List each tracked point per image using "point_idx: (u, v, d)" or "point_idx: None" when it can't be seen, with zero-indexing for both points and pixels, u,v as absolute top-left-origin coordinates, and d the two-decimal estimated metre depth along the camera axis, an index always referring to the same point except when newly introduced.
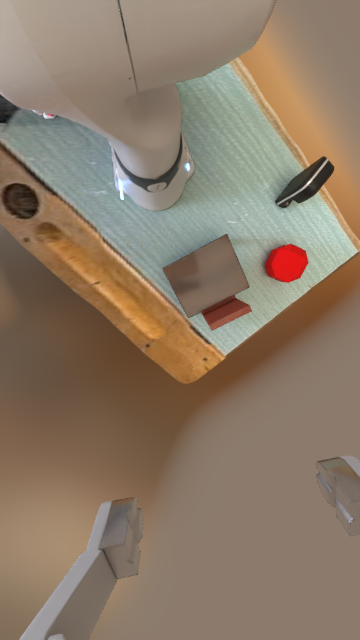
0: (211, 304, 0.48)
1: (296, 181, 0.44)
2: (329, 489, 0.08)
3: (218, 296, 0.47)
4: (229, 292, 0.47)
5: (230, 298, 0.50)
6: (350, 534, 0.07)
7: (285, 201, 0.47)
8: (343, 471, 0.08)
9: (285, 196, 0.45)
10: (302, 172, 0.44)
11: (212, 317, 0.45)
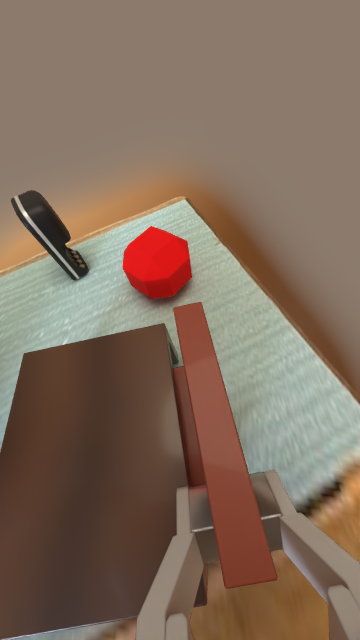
0: (177, 452, 0.13)
1: None
2: None
3: (158, 417, 0.14)
4: (158, 378, 0.15)
5: (186, 379, 0.17)
6: None
7: (69, 262, 0.30)
8: (261, 487, 0.08)
9: (56, 259, 0.29)
10: None
11: None
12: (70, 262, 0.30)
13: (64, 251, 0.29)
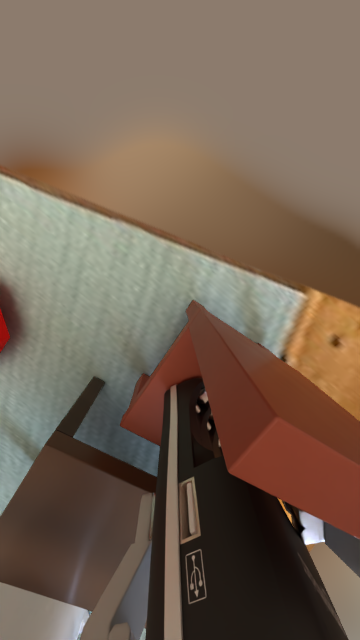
0: None
1: None
2: None
3: None
4: (107, 487, 0.13)
5: None
6: None
7: None
8: None
9: None
10: None
11: None
12: None
13: None
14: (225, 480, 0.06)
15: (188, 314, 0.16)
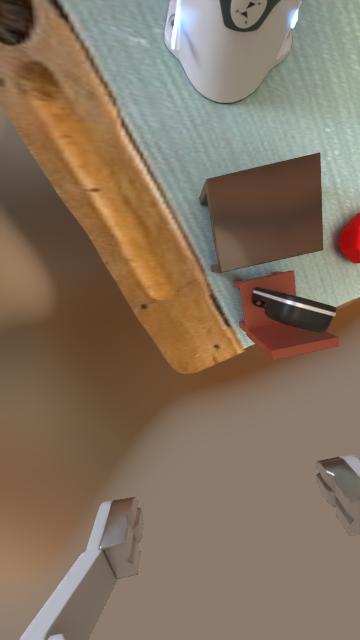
0: (260, 260, 0.31)
1: None
2: (330, 490, 0.08)
3: (274, 251, 0.31)
4: (292, 249, 0.31)
5: None
6: (350, 534, 0.07)
7: (260, 296, 0.31)
8: (343, 471, 0.08)
9: (266, 291, 0.29)
10: None
11: (270, 339, 0.31)
12: (260, 297, 0.31)
13: (264, 301, 0.29)
14: None
15: None
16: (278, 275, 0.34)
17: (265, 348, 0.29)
